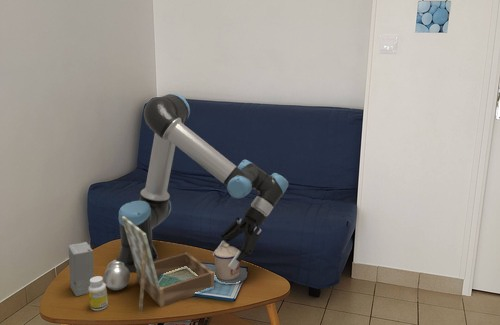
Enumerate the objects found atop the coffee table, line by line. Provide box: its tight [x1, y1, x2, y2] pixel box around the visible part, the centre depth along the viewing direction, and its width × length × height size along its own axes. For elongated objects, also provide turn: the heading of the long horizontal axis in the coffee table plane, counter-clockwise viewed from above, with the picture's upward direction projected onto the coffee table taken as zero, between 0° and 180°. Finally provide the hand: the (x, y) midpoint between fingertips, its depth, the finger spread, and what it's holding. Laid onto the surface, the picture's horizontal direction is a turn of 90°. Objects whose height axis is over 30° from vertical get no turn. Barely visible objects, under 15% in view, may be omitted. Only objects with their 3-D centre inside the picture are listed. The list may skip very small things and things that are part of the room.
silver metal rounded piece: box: [103, 259, 131, 291], centre depth 159 cm, size 9×10×10 cm
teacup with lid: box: [213, 243, 240, 280], centre depth 167 cm, size 12×9×12 cm
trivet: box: [217, 266, 248, 283], centre depth 167 cm, size 12×12×1 cm
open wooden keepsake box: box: [122, 216, 215, 312], centre depth 157 cm, size 20×27×26 cm
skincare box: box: [67, 241, 95, 297], centre depth 158 cm, size 8×7×16 cm
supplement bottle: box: [88, 275, 109, 311], centre depth 148 cm, size 5×5×10 cm
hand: (222, 262), depth 164 cm, fingers open, 10 cm apart
